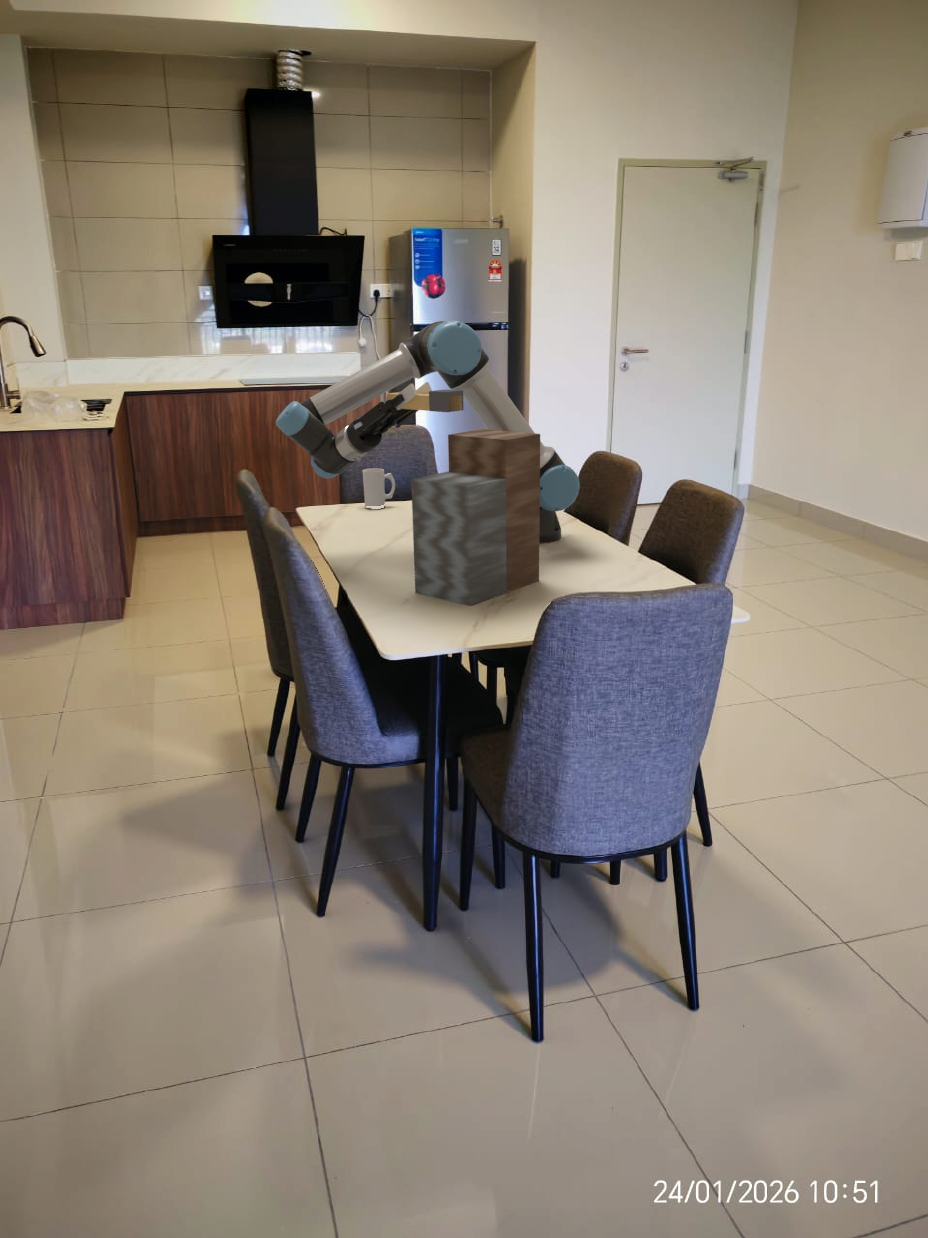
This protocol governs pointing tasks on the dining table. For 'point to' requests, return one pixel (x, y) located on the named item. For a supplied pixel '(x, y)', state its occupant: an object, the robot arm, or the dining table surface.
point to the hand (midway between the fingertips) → (422, 388)
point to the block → (435, 401)
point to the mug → (376, 486)
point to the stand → (479, 518)
